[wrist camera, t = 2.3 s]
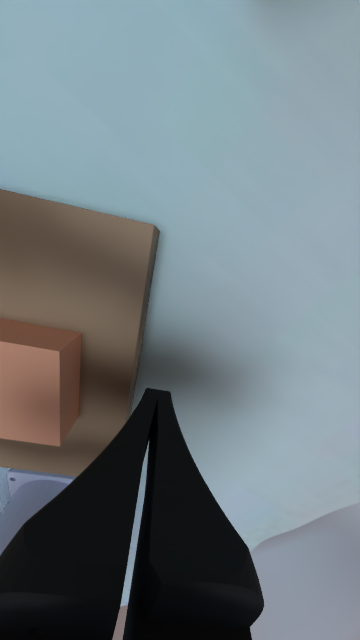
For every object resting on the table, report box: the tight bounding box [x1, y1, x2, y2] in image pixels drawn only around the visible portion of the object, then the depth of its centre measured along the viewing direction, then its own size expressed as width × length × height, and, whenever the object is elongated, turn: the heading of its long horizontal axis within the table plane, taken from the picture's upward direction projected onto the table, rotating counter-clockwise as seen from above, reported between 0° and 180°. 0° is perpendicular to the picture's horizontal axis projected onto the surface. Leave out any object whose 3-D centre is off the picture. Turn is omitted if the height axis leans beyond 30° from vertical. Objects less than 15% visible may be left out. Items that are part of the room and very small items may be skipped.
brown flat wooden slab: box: [0, 189, 159, 477], centre depth 12 cm, size 18×14×2 cm
